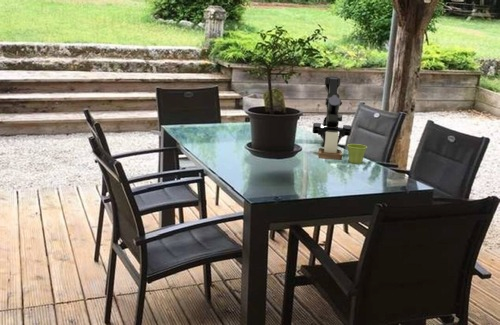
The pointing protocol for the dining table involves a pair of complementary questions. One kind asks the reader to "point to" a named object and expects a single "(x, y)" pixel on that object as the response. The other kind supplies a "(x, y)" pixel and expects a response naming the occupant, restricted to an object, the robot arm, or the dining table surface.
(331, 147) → the cream rectangular block
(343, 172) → the dining table surface
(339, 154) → the box
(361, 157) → the plant pot
